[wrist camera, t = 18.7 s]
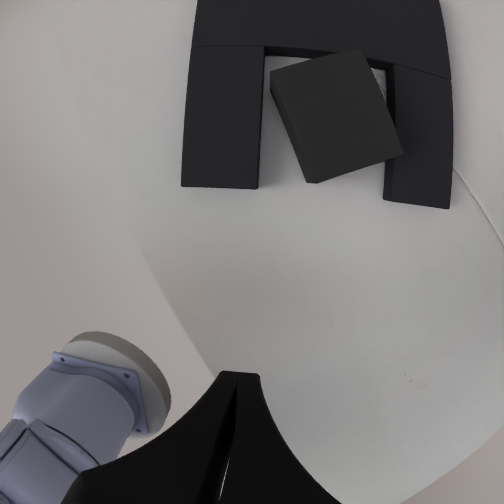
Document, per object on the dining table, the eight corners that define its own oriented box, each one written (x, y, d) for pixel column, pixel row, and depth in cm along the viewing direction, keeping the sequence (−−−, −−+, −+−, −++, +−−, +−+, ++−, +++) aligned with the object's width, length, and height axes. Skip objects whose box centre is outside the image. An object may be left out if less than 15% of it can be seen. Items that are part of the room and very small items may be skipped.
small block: (381, 158, 17) (405, 154, 14) (306, 183, 18) (315, 184, 14) (345, 68, 16) (361, 47, 12) (269, 90, 17) (269, 71, 13)
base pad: (438, 207, 17) (449, 209, 16) (187, 185, 18) (180, 186, 17) (429, -1, 14) (437, -9, 12) (208, -30, 14) (204, -41, 13)
